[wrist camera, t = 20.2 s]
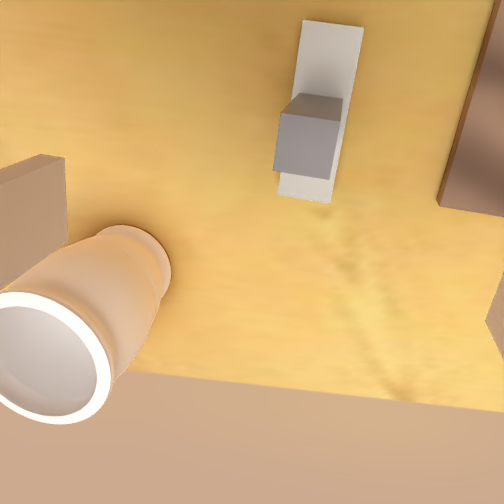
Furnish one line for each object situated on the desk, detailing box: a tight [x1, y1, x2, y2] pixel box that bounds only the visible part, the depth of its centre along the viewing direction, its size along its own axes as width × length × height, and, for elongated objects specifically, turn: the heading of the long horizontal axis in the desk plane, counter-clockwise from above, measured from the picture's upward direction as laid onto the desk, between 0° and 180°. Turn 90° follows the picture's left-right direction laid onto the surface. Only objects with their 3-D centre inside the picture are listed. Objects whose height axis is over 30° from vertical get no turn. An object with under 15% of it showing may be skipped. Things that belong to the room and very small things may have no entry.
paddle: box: [273, 20, 365, 204], centre depth 30 cm, size 12×4×13 cm, turn 173°
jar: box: [0, 225, 171, 424], centre depth 38 cm, size 11×10×15 cm
